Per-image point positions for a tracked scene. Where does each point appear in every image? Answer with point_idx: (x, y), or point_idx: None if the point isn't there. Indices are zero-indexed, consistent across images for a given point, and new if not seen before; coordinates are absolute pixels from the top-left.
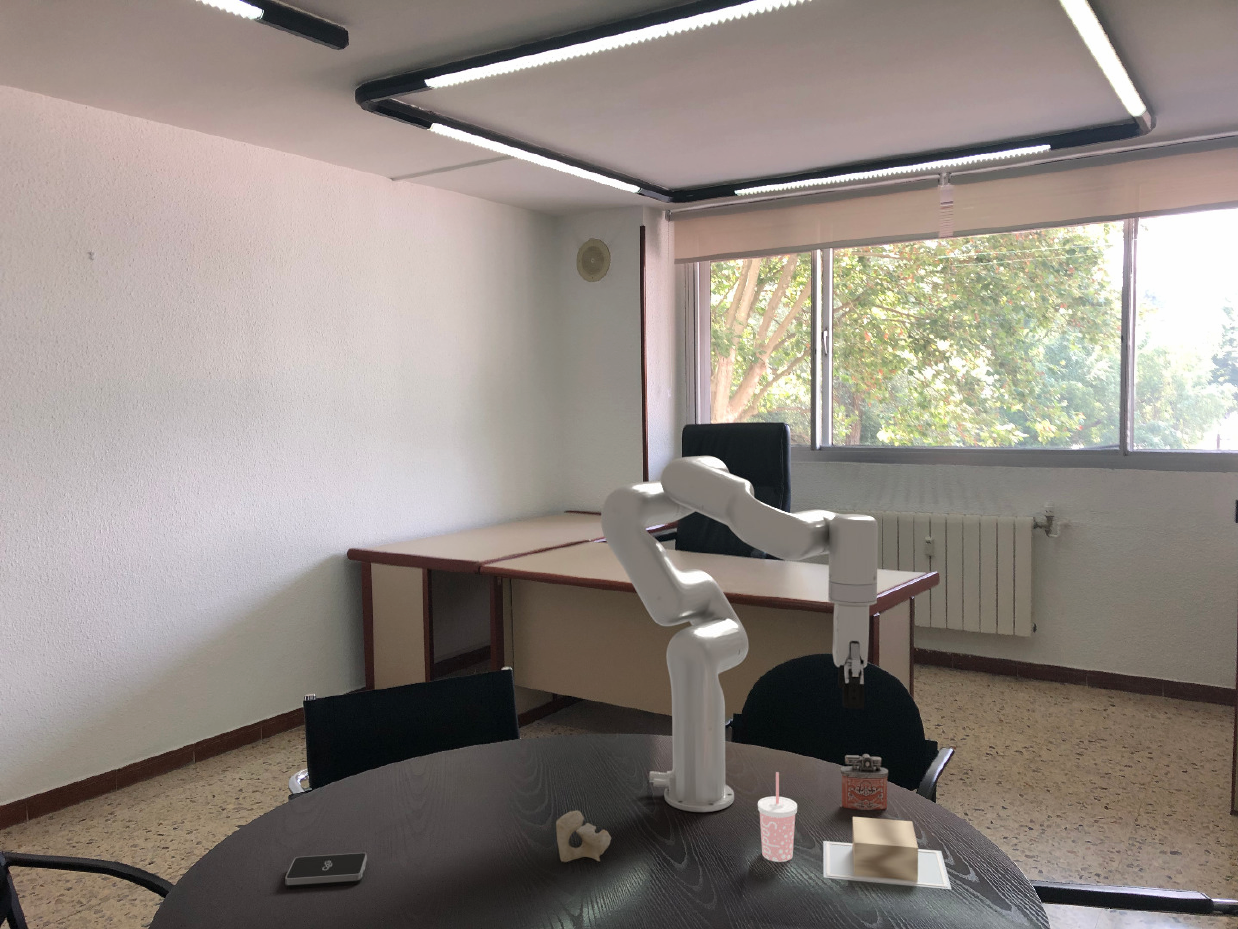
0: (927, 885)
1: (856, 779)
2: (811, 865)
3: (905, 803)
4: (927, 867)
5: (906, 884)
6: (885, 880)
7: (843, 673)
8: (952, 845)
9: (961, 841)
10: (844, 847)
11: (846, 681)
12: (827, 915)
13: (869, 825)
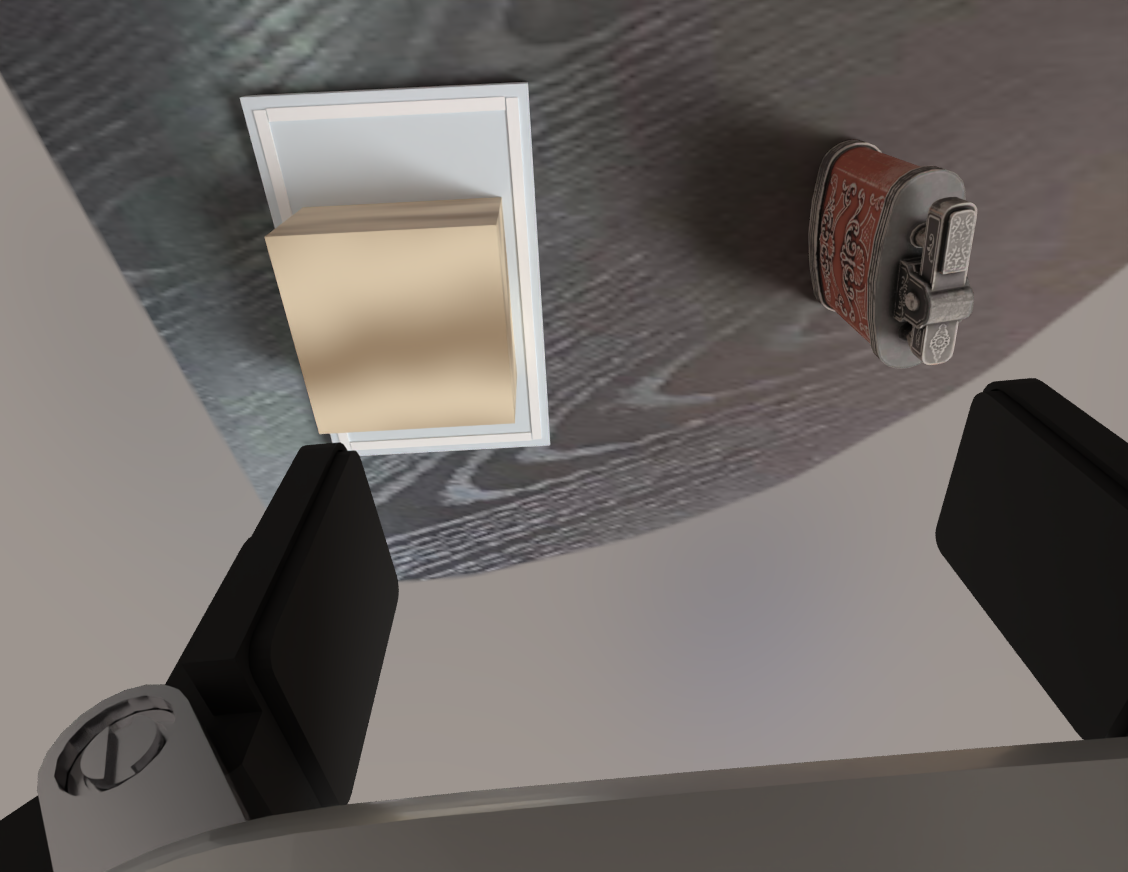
0: None
1: (874, 235)
2: (370, 40)
3: None
4: None
5: None
6: None
7: (1091, 535)
8: (629, 463)
9: (658, 484)
10: (495, 168)
11: (78, 739)
12: (52, 118)
13: (436, 289)
